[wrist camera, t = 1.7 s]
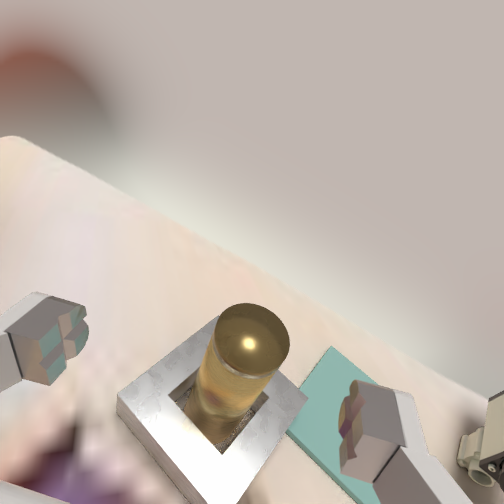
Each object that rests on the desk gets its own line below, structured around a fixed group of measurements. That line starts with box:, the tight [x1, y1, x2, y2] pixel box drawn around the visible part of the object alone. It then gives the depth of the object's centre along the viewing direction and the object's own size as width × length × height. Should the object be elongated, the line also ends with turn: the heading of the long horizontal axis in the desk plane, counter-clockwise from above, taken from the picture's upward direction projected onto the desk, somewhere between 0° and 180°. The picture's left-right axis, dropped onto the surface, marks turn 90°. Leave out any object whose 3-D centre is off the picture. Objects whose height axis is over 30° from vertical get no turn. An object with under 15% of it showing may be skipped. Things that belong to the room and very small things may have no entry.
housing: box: [117, 315, 309, 504], centre depth 29 cm, size 12×12×4 cm
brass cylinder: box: [184, 303, 290, 444], centre depth 26 cm, size 5×5×14 cm
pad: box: [286, 346, 420, 504], centre depth 34 cm, size 12×12×1 cm
